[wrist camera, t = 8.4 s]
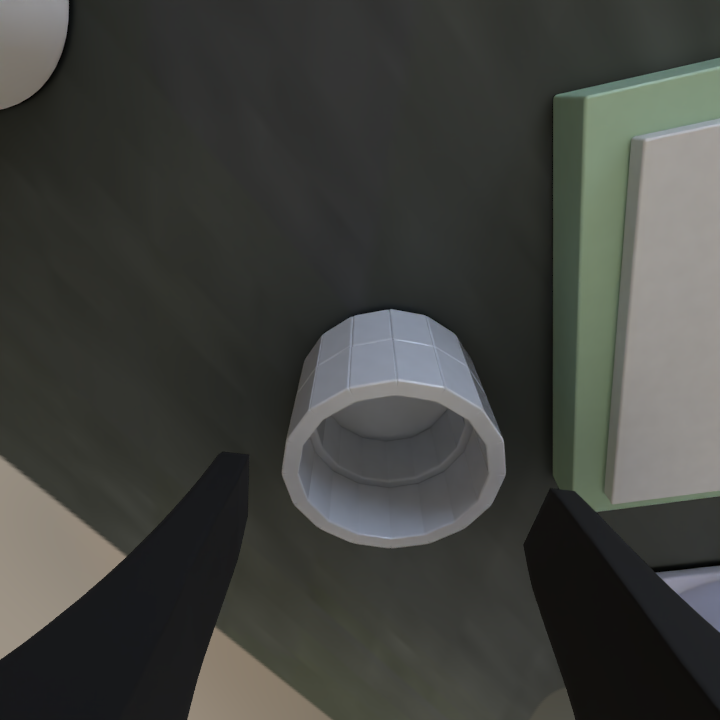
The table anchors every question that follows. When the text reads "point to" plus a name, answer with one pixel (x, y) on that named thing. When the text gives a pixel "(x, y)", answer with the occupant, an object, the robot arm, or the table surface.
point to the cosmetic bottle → (29, 45)
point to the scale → (637, 289)
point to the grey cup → (392, 433)
